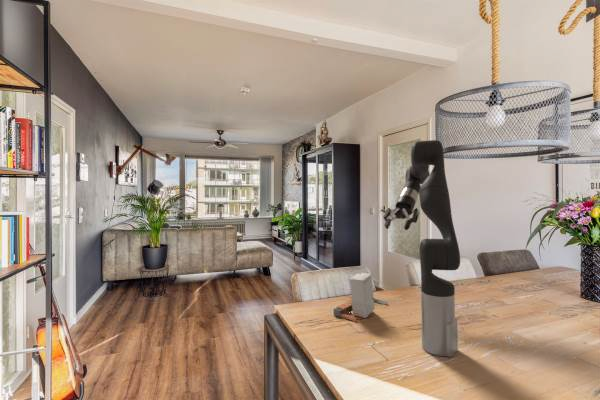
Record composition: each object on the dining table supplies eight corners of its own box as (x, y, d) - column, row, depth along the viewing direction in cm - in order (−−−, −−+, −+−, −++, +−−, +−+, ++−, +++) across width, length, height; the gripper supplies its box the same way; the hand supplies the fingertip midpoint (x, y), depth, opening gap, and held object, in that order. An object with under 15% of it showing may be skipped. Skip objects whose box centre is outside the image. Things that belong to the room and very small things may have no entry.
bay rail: (367, 299, 141) (366, 292, 141) (387, 304, 134) (387, 297, 134) (333, 315, 122) (333, 308, 122) (355, 322, 115) (355, 314, 115)
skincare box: (366, 318, 118) (363, 281, 116) (351, 315, 122) (348, 278, 120) (375, 309, 125) (372, 273, 123) (361, 306, 128) (358, 271, 126)
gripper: (389, 194, 142) (377, 221, 134) (420, 194, 132) (409, 223, 124) (394, 205, 146) (383, 232, 138) (425, 206, 136) (415, 235, 128)
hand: (395, 228), depth 131 cm, fingers open, 8 cm apart
